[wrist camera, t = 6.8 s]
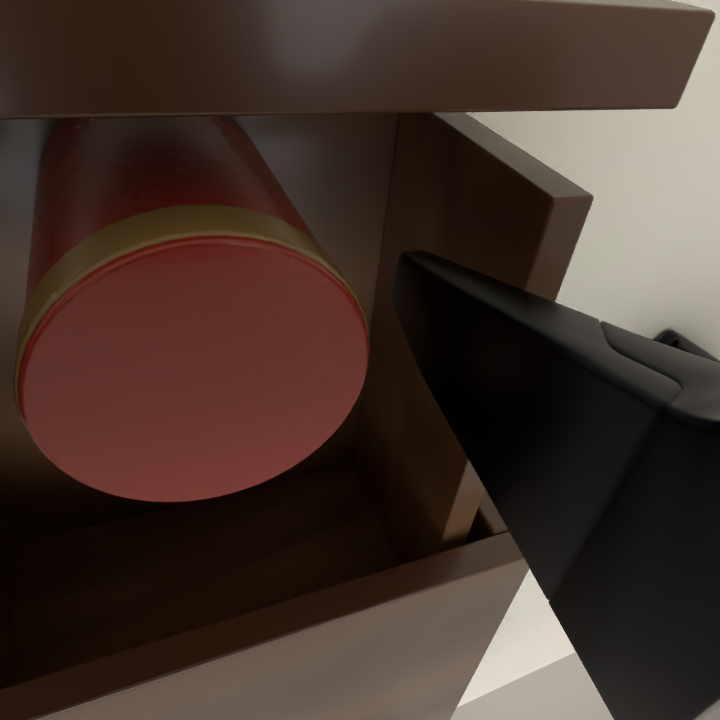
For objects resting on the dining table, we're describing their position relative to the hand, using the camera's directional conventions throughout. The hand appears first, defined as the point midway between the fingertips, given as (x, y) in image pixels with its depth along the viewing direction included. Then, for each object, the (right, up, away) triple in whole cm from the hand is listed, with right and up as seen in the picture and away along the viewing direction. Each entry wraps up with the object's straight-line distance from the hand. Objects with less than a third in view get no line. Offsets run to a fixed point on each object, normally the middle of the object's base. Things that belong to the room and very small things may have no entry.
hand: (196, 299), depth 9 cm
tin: (-2, +2, +3) cm, 4 cm away
